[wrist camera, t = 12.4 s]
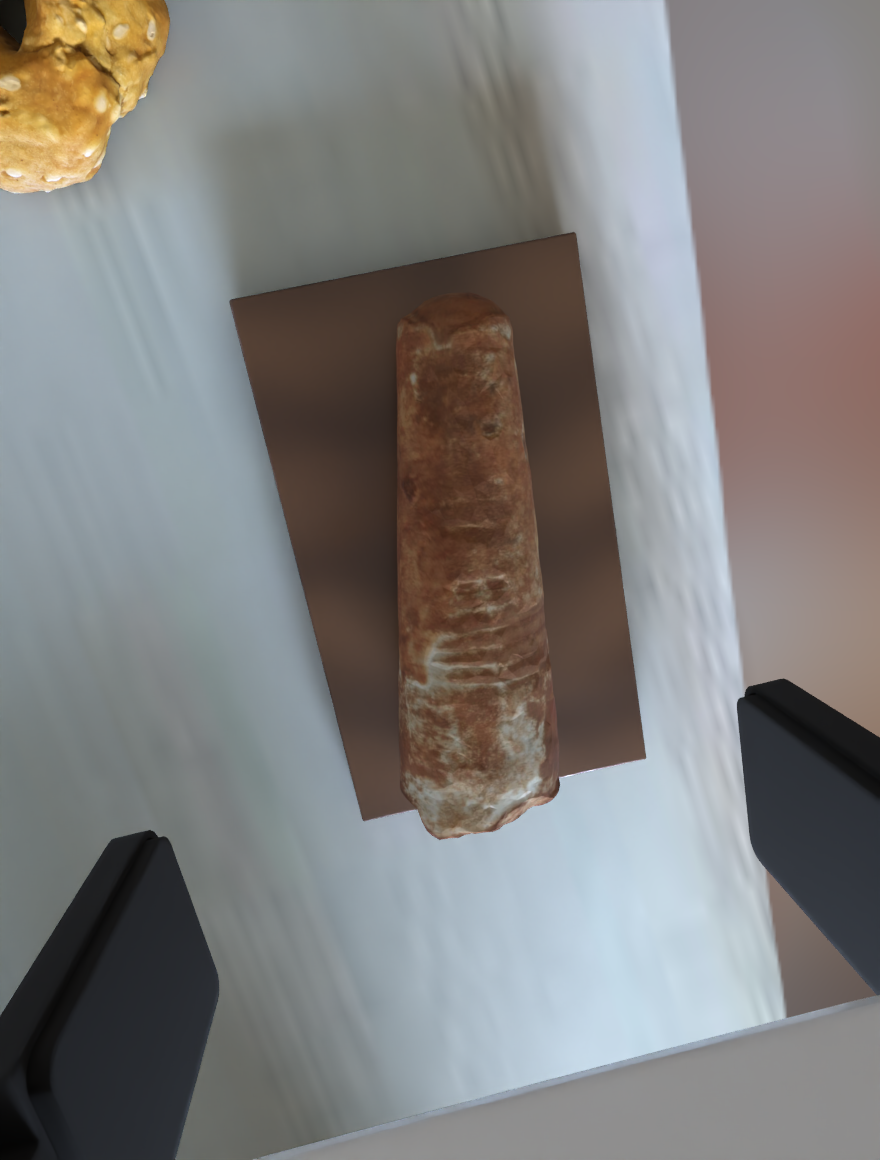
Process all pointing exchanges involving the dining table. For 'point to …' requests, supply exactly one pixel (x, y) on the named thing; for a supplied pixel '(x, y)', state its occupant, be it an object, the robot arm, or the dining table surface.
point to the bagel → (72, 85)
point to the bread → (468, 577)
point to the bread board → (369, 490)
